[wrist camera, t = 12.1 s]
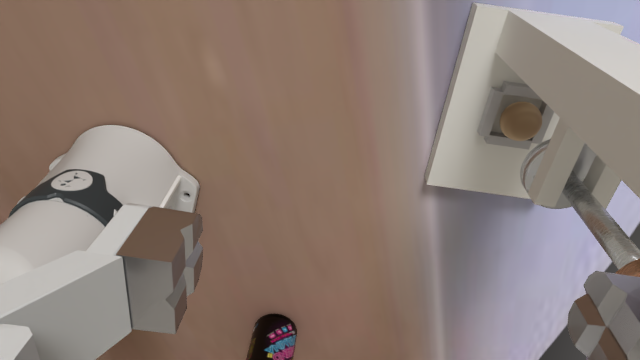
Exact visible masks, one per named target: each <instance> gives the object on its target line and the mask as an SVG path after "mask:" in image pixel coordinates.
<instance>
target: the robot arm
mask: <svg viewBox="0 0 640 360" xmlns="http://www.w3.org/2000/svg"><path fill="white" fill-rule="evenodd" d="M49 170H50V172H49V173H48V174H47V175H46V176H45V178H44V179H43V180H42V181H41V182H40V183H39V184H38V185H37V187H36V188H35V189H33V190H32V191H31V192H30V193H29V194H28V195H27V196H24V197H23V198H22V199H21V200H20V201H19V202H18V204H17V205H16V206H15V207H14V208H13V209H12V211H11V212H10V215H9V217H8V219H7V220H6V221H4V222H3V223H2V224H1V225H0V360H95V359H97V358H98V357H99V356H100V355H102V354H103V353H104V352H106V351H107V350H108V349H110V348H111V347H112V346H113V345H115V344H116V343H117V342H119V341H120V340H121V339H123V338H124V337H125V336H126V335H128V334H129V333H130V332H131V331H132V330H131V329H136V330H144V331H153V332H162V333H171V334H176V332H177V330H178V327H179V325H180V323H181V320H182V318H183V316H184V314H185V311H186V309H187V296H188V295H190V294H191V293H193V292H194V291H195V288H196V286H197V283H198V280H199V276H200V272H201V269H202V260H203V247H202V246H201V245H200V243H199V242H198V240H199V238H200V236H201V233H202V231H203V225H202V217H201V215H200V214H197V213H194V212H195V207H196V203H197V198H198V194H199V189H200V186H199V183H198V181H197V180H196V179H195V178H194V177H192V176H191V175H190V174H188V173H187V172H185V171H184V170H182V169H181V168H180V167H179V166H178V165H177V164H176V162H175V161H174V159H173V158H172V157H171V155H170V154H169V153H168V152H167V151H166V150H165V149H164V148H163V147H162V146H161V145H160V144H159V143H158V142H157V141H155V140H154V139H152V138H151V137H149V136H148V135H146V134H144V133H142V132H140V131H137V130H135V129H132V128H128V127H124V126H118V125H104V126H98V127H95V128H92V129H90V130H88V131H86V132H84V133H83V134H82V135H81V136H79V137H78V139H77V140H76V141H75V143H74V144H73V146H72V147H71V148H70V150H69V151H68V152H67V153H66V154H64V155H62V156H60V157H58V158H56V159H55V160H54V161H53V162H52V163H51V165H50V167H49ZM186 193H188V194H189V195H187V194H186ZM584 288H585V291H586V295H584V296H582V297H580V298H579V299H577V300H575V301H574V303H573V305H572V307H571V309H570V311H569V315H568V330H569V334H570V337H571V339H572V341H573V343H574V345H575V347H577V348H578V349H579V350H580V351H581V352H583V353H584V354H585V355H586V356H587V358H586V360H640V277H635V276H628V275H621V274H613V273H606V272H599V271H595V272H594V273H593V274H591V275H590V276H589V277H588V279H587V280H586V282H585V284H584Z"/></svg>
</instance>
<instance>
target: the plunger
mask: <svg viewBox="0 0 640 360" xmlns="http://www.w3.org/2000/svg"><path fill="white" fill-rule="evenodd" d="M550 140H551V139H549V140H546V141H544V142H542V143H540V144H539V145H537V146H536V147H535V148H533V149H532V150H531V151H530V152H529V153H528V155H527V156H526V157H525V159H524V161H523V163H522V165H521V169H520V179H521V183H522V185H523V187H524V188H525V190H526V192H527V193H528V192H529V189H530V187H531V184H532V182H533V180H534V177H535V175H536V173H537V170H538V168H539V166H540V163H541V161H542V158H543V156H544V154H545V151H546V149H547V147H548V144H549V142H550ZM595 157H596V154H595V153H594V152H593V151H592V150H591V148H590V147H589V146H588V145H587V144H586V143H585V144H584V146H583V148H582V150H581V152H580V154H579V156H578V159H577V161H576V163H575V165H574V167H573V169H572V171H571V174H570V176H569V178H568V180H567V182H566V184H565V186H564V188H563V191H562V193H561V195H560V197H559V199H558V201H557V203H556V206H555V207H550V206H543V205H541V206H543V207H546V208H551V209H562V208H568V207H573V208H574V209H575V211H576V212H577V213H578V215H579V216H580V218H581V219H582V220H583V222H584V223H585V224H586V226H587V227H588V228H589V230H590V231H591V233H592V234H593V235H594V237H595V238H596V239H597V241H598V242H599V243H600V245H601V246H602V248H603V249H604V250H605V252H606V253H607V254H608V256H609V257H610V258H611V260H612V261H613V263H614V264H615V265H616V267H617V268H618V269H619V270H618V271H617V272H616V273H615V274H621V275H628V276H635V277H640V250H639V249H638V248H637V247H636V246H635V244H634V243H633V242H632V241H631V240H630V238H629V237H628V236H627V235H626V234H625V232H624V231H623V230H622V229H621V228H620V226H619V225H618V224H617V223H616V222H615V220H614V219H613V218H612V217H611V216H610V214H609V213H608V212H607V211H606V210H605V208H604V207H603V206H602V205H601V204H600V202H599V201H598V200H597V199H596V198H595V196H594V195H593V194H592V193H591V192H590V190H589V189H588V188H587V187H586V186H585V184H584V183H583V181H584V179H585V177H586V175H587V173H588V171H589V169H590V167H591V165H592V163H593V161H594V159H595Z"/></svg>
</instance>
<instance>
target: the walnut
mask: <svg viewBox="0 0 640 360" xmlns="http://www.w3.org/2000/svg"><path fill="white" fill-rule="evenodd" d="M541 126H542V115H541V112H540V111H539V109H538V108H537V107H536V106H535V105H533V104H531V103H529V102H516V103H513V104H511V105H509V106H508V107H506V108H505V109H504V111H503V112H502V114H501V117H500V128H501V130H502V132H503V133H504V135H505V136H507V137H508V138H510V139H512V140H515V141H525V140H528V139H530V138H532V137H534V136H535V135H536V134H537V133H538V132H539V130H540V128H541Z"/></svg>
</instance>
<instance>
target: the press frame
mask: <svg viewBox="0 0 640 360" xmlns="http://www.w3.org/2000/svg"><path fill="white" fill-rule="evenodd" d="M623 27H624V26H621V25H619V24H617V23H614V22H609V21H602V20H594V19H587V18H580V17H573V16H566V15H559V14H552V13H545V12H538V11H531V10H524V9H516V8H509V7H502V6H495V5H488V4H481V3H474V2H473V4H472V7H471V11H470V14H469V18H468V21H467V25H466V29H465V32H464V36H463V39H462V43H461V47H460V50H459V54H458V57H457V61H456V65H455V68H454V72H453V75H452V79H451V83H450V86H449V90H448V93H447V97H446V101H445V104H444V108H443V111H442V115H441V119H440V122H439V126H438V129H437V133H436V137H435V140H434V144H433V147H432V151H431V155H430V158H429V162H428V165H427V169H426V173H425V180H426V184H427V185H434V186H441V187H448V188H455V189H462V190H469V191H476V192H483V193H491V194H498V195H505V196H512V197H519V198H526V199H531V200H532V201H533V203H534V204H536V205H543V206H550V207H555V206H556V203H557V201H558V199H559V197H560V195H561V193H562V191H563V188H564V186H565V184H566V182H567V180H568V178H569V176H570V174H571V171H572V169H573V167H574V165H575V163H576V161H577V159H578V156H579V154H580V152H581V150H582V148H583V146H584V144H585V143H586V144H587V145H588V146H589V147H590V148H591V150H592V151H593V152H594V153H595V154H596V157H595V159H594V161H593V163H592V165H591V167H590V169H589V171H588V173H587V175H586V177H585V179H584V181H583V183H584V184H585V186H586V187H587V188H588V189H589V190H590V192H591V193H592V194H593V195H594V196H595V198H596V199H597V200H598V201H599V202H600V204H601V205H602V206H603V207H604V208H605V210H606V208H607V206H608V204H609V202H610V200H611V198H612V197H613V195H614V193H615V191H616V189H617V187H618V186H619V184H620V182H621V180H622V181H623V182H624V183H625V184H626V185H627V186H628V187H629V188H630V189H631V190H632V191H633V192H634V193H635V194H636V195H637V196H638V197H639V198H640V44H638V43H636V42H634V41H632V40H630V39H628V38H626V37H623V36H621V35H620V34H621V32H622V29H623ZM516 102H529V103H531V104H533V105H535V106H536V107H537V108H538V109H539V111H540V112H541V115H542V126H541V128H540V130H539V132H538V133H537V134H536V135H535V136H534V137H532V138H530V139H528V140H525V141H515V140H512V139H510V138H508V137H507V136H505V135H504V133H503V132H502V130H501V128H500V117H501V114H502V112H503V111H504V109H505V108H506V107H508V106H509V105H511V104H513V103H516ZM549 139H551V140H550V142H549V144H548V147H547V149H546V151H545V154H544V156H543V158H542V161H541V163H540V166H539V168H538V170H537V173H536V175H535V177H534V180H533V182H532V184H531V187H530V189H529V192H528V193H527V192H526V190H525V188H524V187H523V185H522V183H521V179H520V169H521V165H522V163H523V161H524V159H525V157H526V156H527V155H528V153H529V152H530V151H531V150H532V149H533V148H535V147H536V146H537V145H539V144H540V143H542V142H544V141H546V140H549Z"/></svg>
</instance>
